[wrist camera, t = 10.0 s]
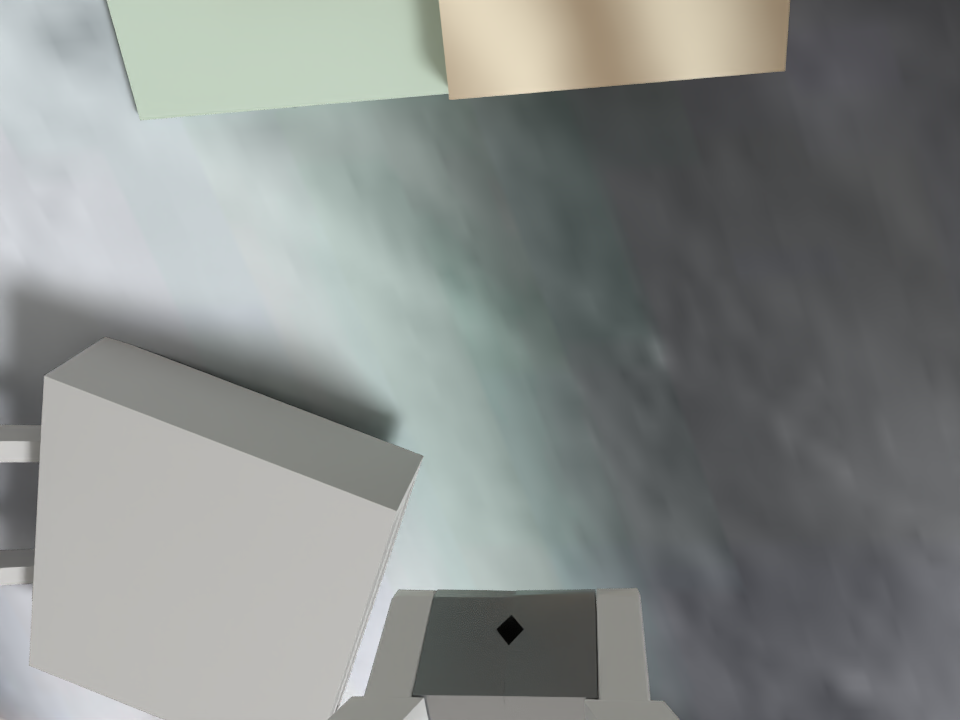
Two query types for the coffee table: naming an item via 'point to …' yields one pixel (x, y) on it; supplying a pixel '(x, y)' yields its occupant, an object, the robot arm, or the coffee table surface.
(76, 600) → the game console
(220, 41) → the mat
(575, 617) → the robot arm
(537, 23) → the deck
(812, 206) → the coffee table surface
